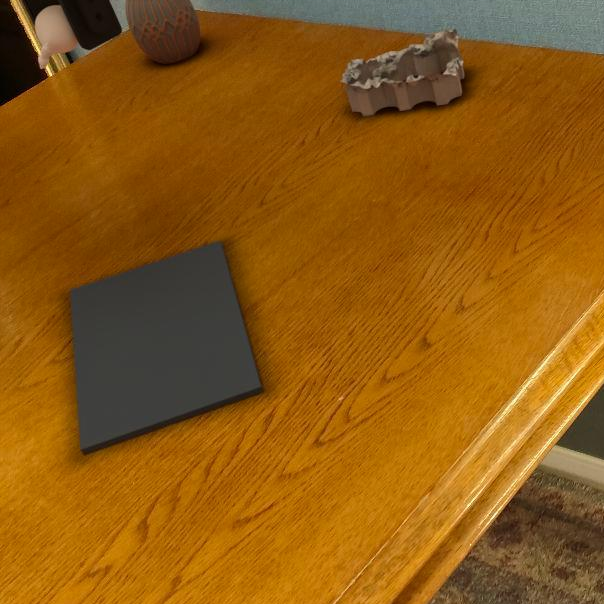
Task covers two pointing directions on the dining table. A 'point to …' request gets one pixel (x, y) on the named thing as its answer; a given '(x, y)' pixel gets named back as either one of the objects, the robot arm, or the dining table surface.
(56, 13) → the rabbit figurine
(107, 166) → the dining table surface
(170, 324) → the mat
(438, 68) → the egg carton
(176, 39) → the vase
